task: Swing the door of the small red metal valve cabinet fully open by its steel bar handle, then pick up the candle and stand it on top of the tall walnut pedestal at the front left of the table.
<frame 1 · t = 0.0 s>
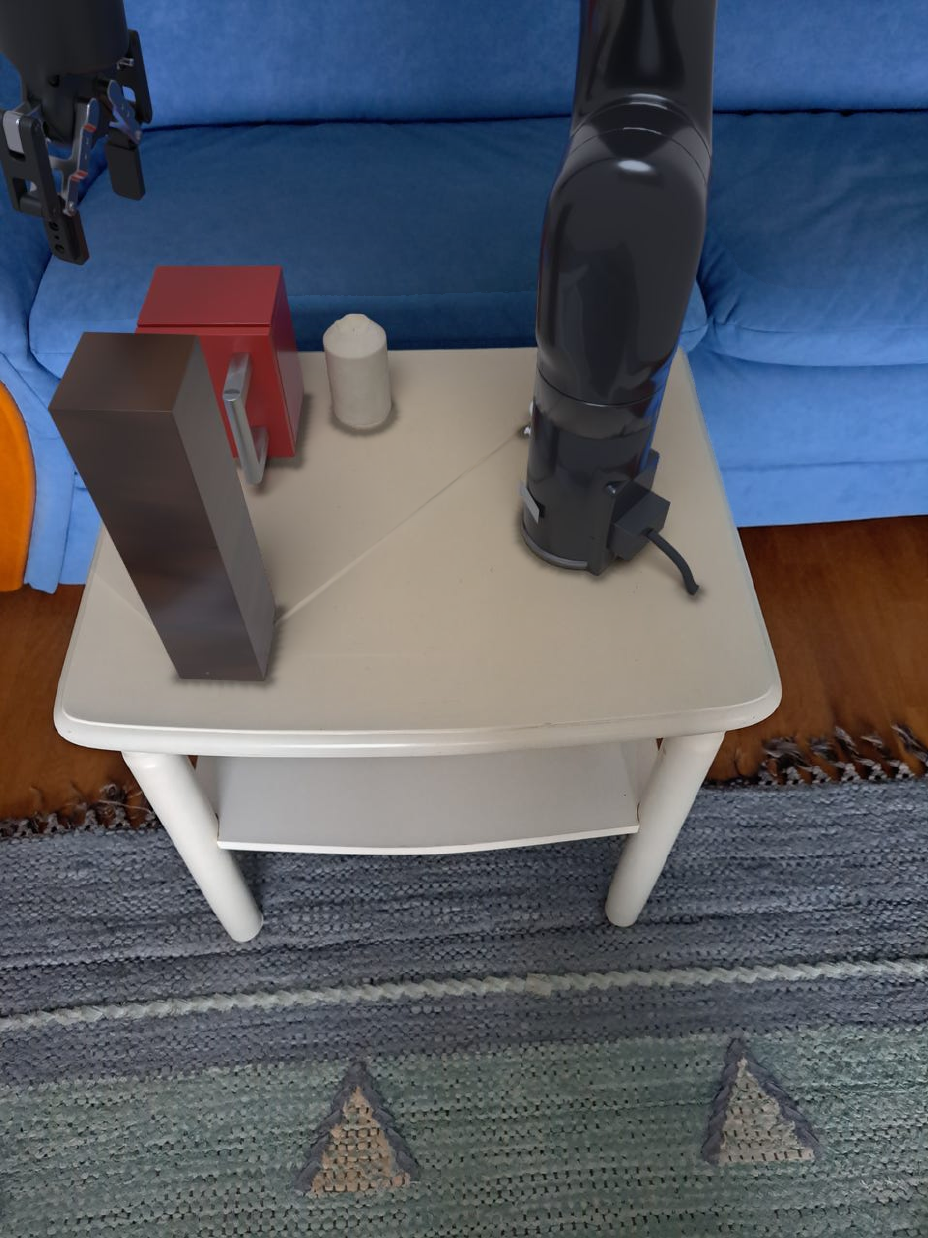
hand: (102, 226, 61), 22 cm above the table, tool pointing down, fingers open, 8 cm apart
valve door: (216, 423, 72), point 7 cm above the table, hinge at 0.0°
valve cabinet: (245, 425, 82), on the table
rabbit figurine: (556, 418, 83), on the table
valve: (243, 417, 81), resting on valve cabinet
candle: (363, 415, 83), on the table
plinth: (230, 644, 67), on the table
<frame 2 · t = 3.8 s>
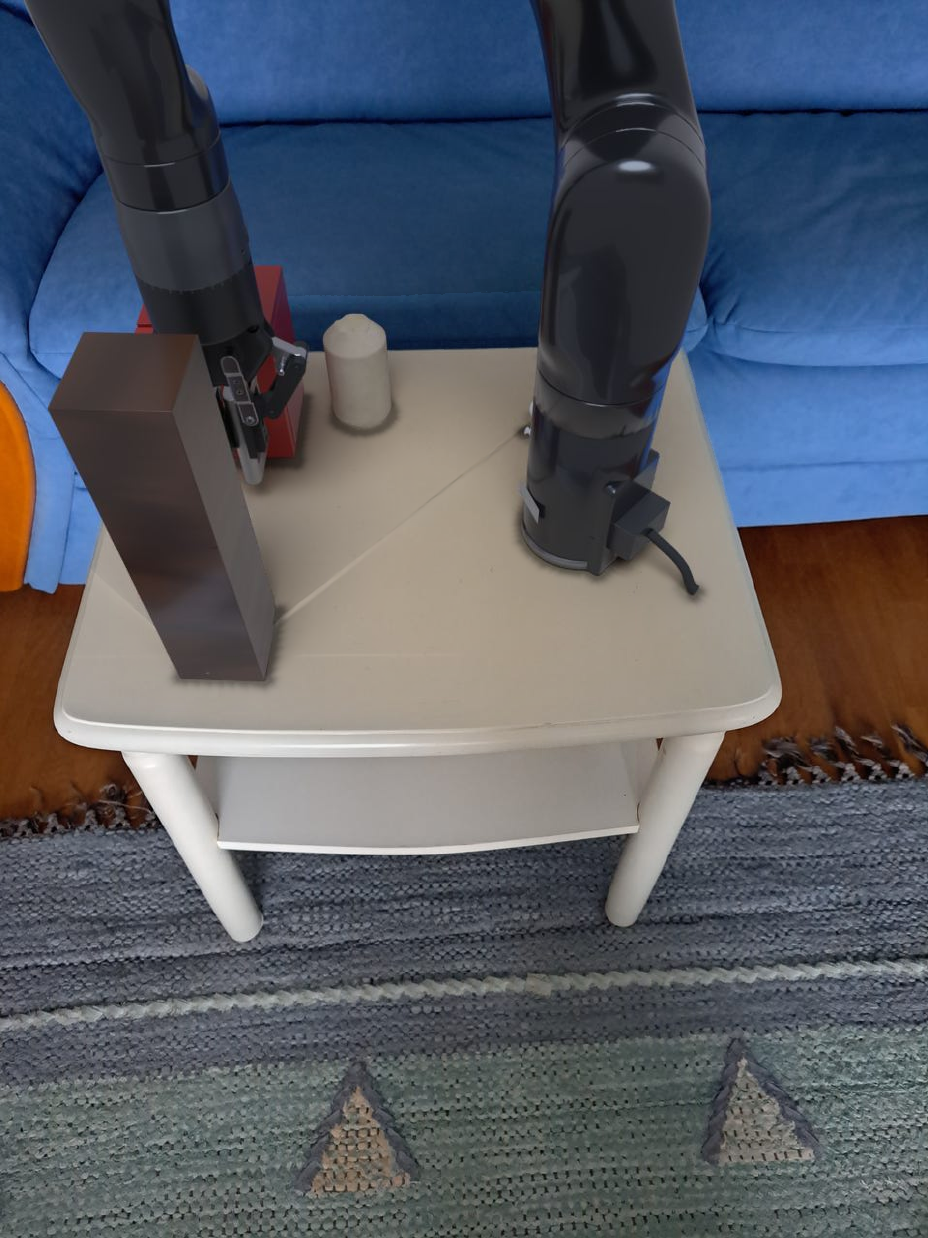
hand: (244, 451, 70), 7 cm above the table, tool pointing down, fingers closed
valve door: (216, 423, 72), point 7 cm above the table, hinge at 0.0°, touching gripper
everything else where it was.
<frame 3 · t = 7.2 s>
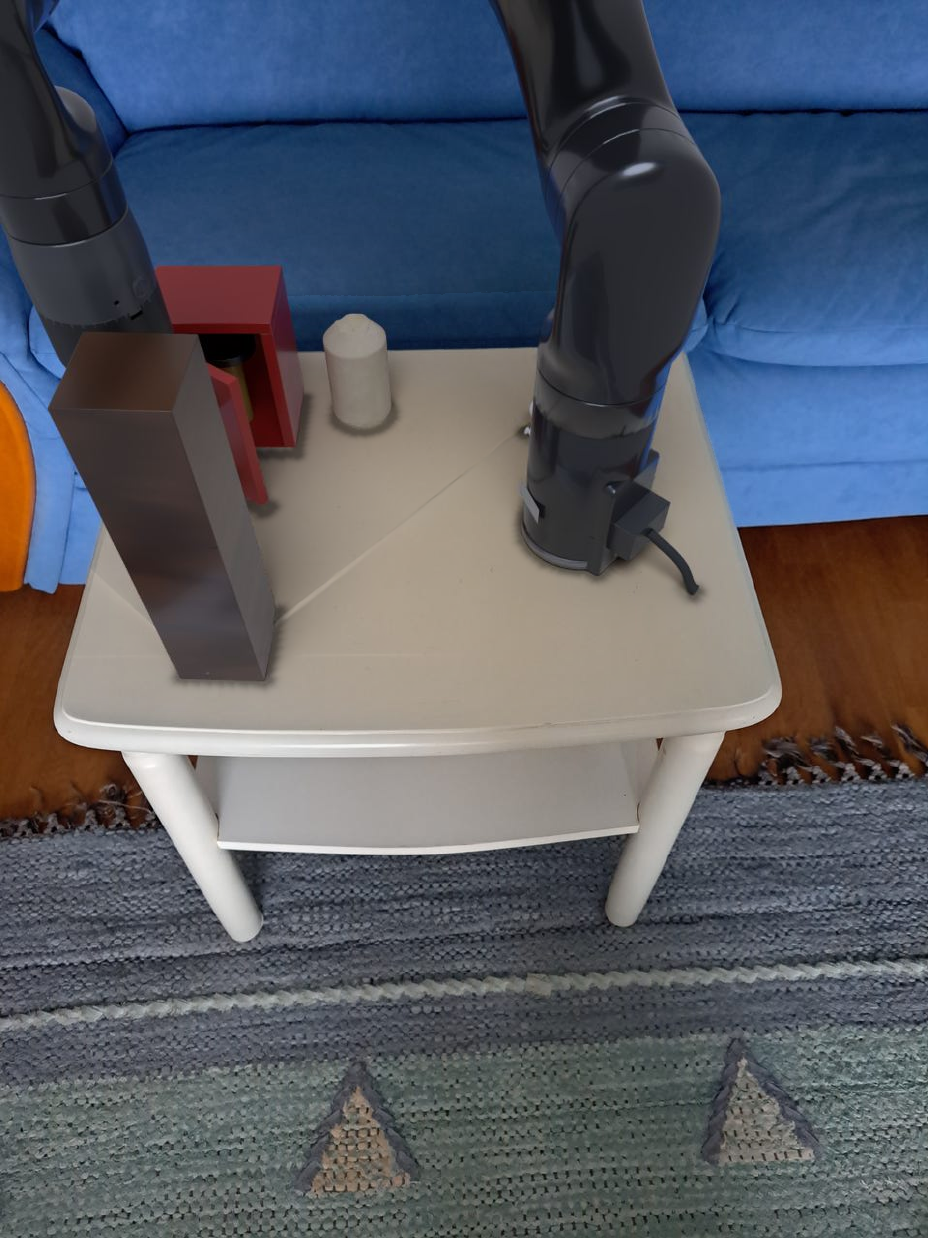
hand: (171, 482, 67), 7 cm above the table, tool pointing down, fingers closed
valve door: (178, 444, 70), point 7 cm above the table, hinge at 35.5°, touching gripper
everything else where it was.
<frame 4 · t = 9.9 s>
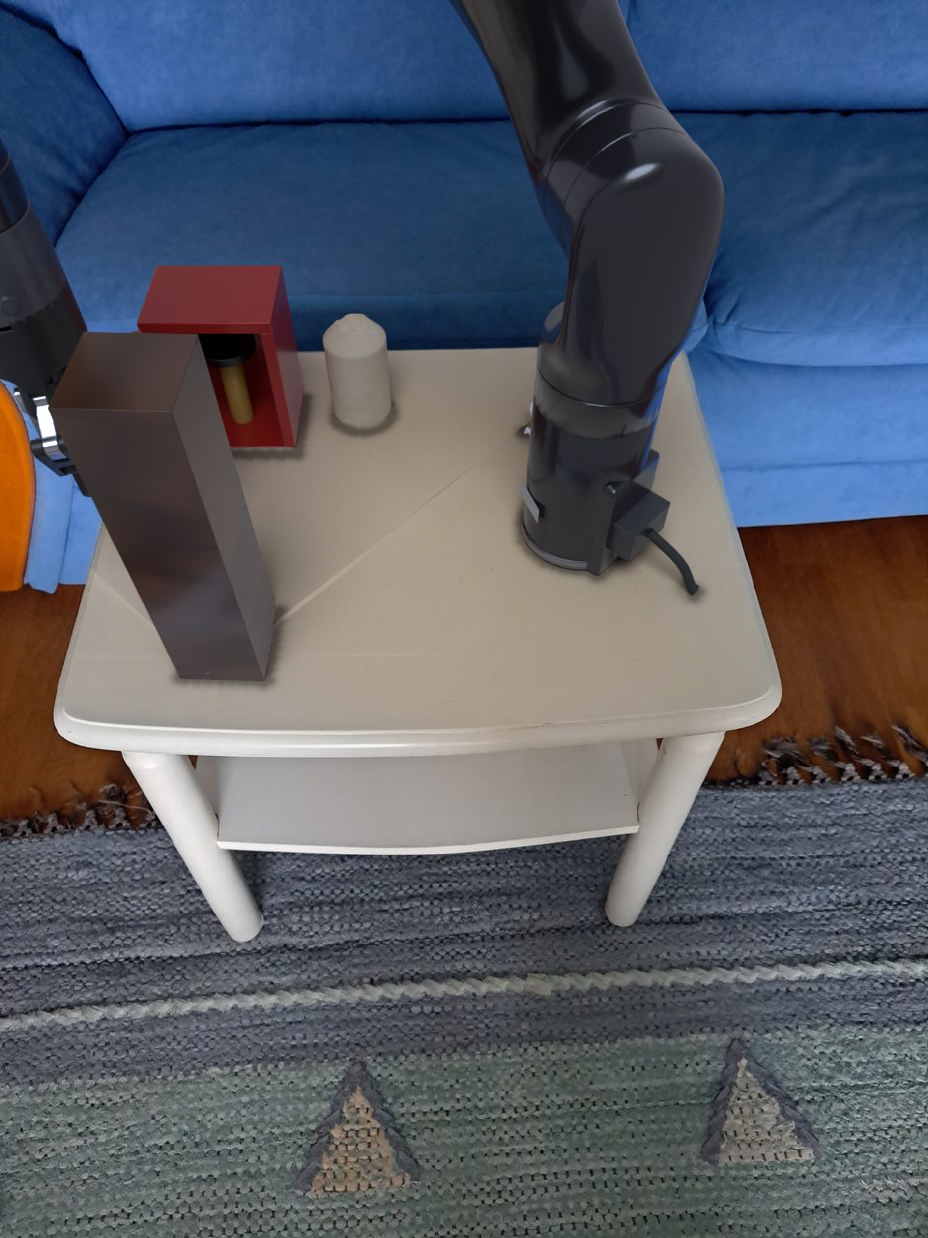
hand: (98, 482, 67), 7 cm above the table, tool pointing down, fingers closed
valve door: (135, 449, 70), point 7 cm above the table, hinge at 68.3°, touching gripper
everything else where it was.
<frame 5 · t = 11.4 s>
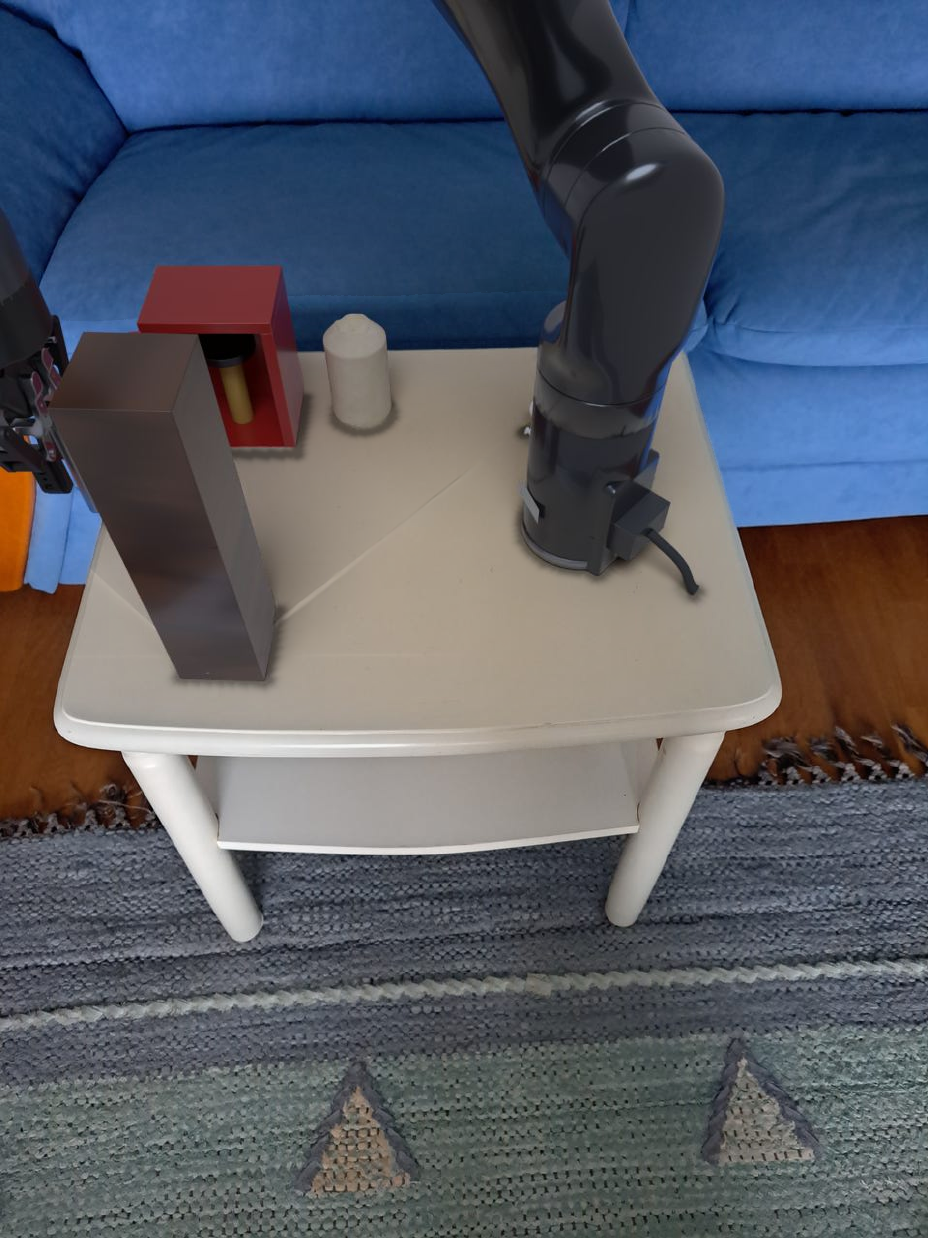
hand: (65, 472, 68), 7 cm above the table, tool pointing down, fingers open, 3 cm apart
valve door: (119, 446, 70), point 7 cm above the table, hinge at 82.1°
everything else where it was.
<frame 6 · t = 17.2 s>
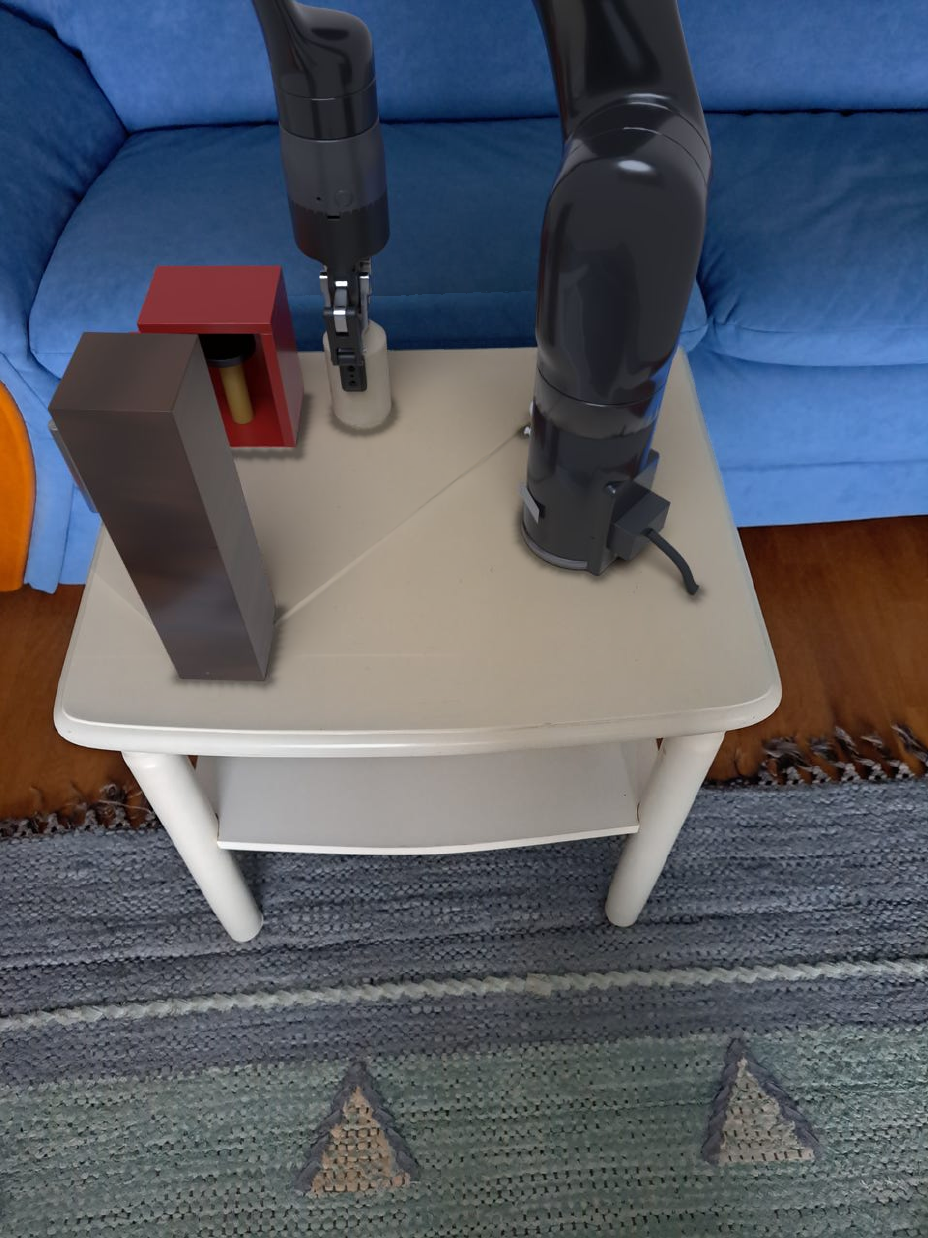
hand: (357, 366, 78), 6 cm above the table, tool pointing down, fingers closed on candle, 5 cm apart
candle: (363, 415, 83), on the table, touching gripper
everything else where it was.
when the fingers open (32 cm above the table, at t = 24.1 s): candle stays where it is, resting on plinth.
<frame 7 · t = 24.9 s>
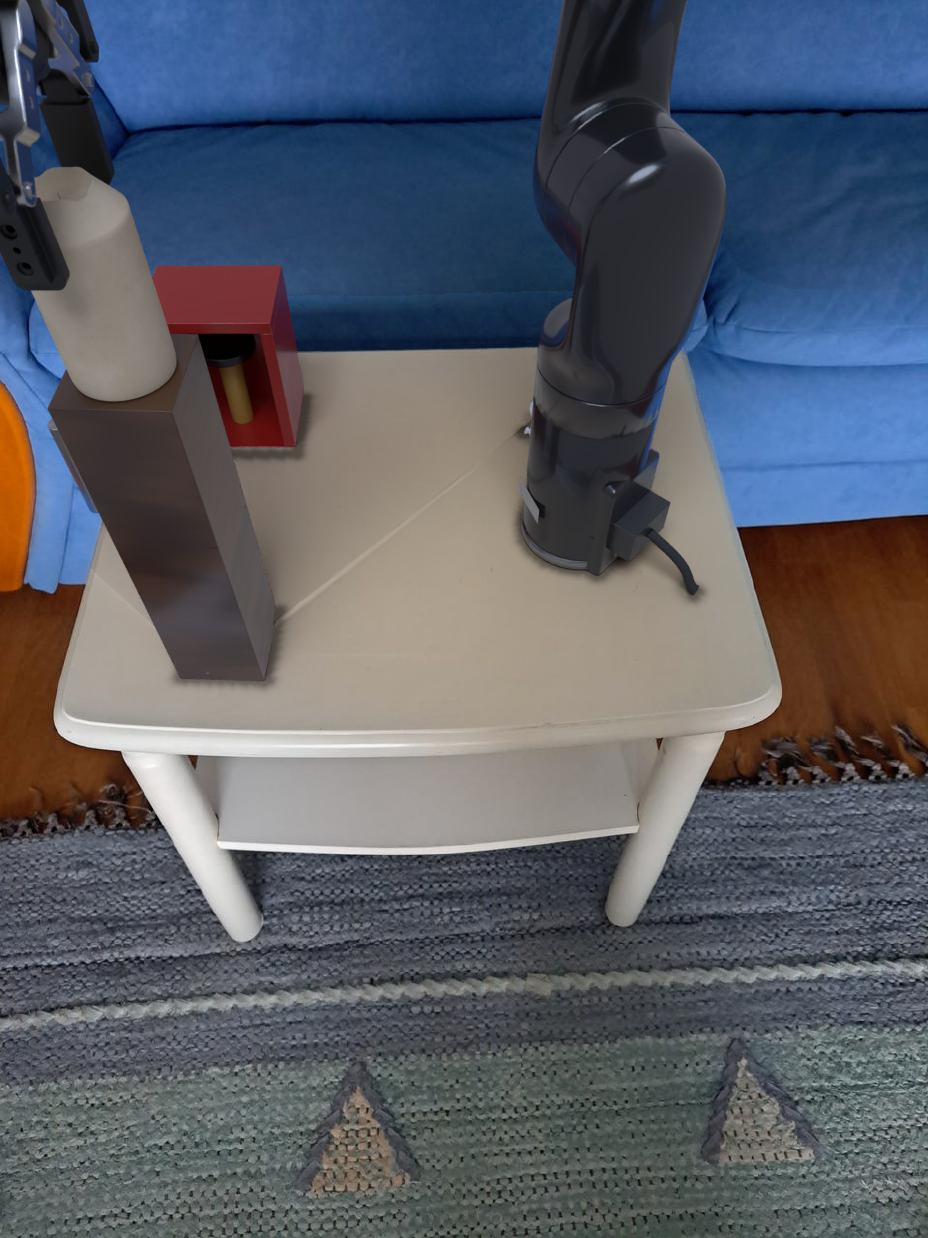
hand: (70, 231, 40), 34 cm above the table, tool pointing down, fingers open, 8 cm apart
candle: (126, 371, 46), point 26 cm above the table, touching plinth
everything else where it was.
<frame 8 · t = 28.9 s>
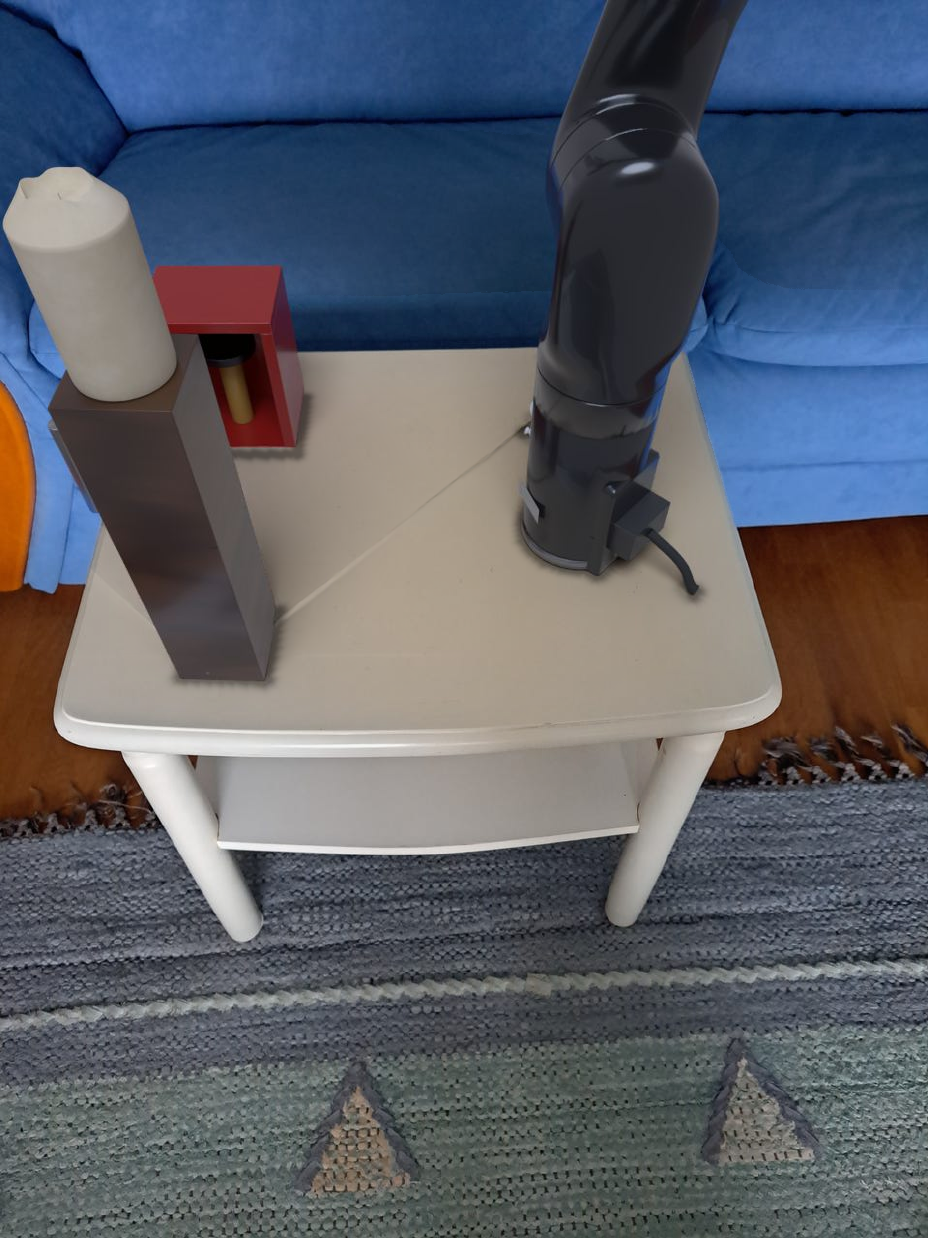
nothing on the table moved.
at the end: valve door at +82° (first picture: +0°); candle 0.0 cm off-centre on the plinth, point 25.8 cm above the plinth's base; candle tilted 0° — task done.
